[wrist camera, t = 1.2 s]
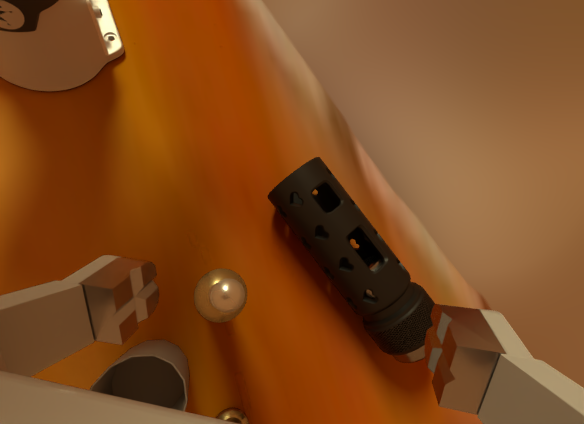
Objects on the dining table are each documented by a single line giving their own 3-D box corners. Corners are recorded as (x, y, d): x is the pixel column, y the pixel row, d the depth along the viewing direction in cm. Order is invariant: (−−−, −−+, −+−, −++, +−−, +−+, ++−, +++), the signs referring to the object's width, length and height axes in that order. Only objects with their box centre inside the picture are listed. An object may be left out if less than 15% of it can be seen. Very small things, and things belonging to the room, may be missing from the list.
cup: (202, 357, 38) (204, 377, 29) (165, 429, 35) (154, 476, 26) (139, 327, 37) (120, 339, 28) (95, 399, 34) (58, 438, 25)
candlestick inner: (192, 280, 40) (189, 268, 20) (226, 274, 42) (255, 257, 22) (196, 315, 39) (198, 338, 19) (230, 307, 41) (265, 321, 21)
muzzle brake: (304, 174, 49) (331, 145, 40) (412, 314, 49) (465, 319, 39) (258, 206, 45) (274, 183, 36) (373, 358, 45) (422, 376, 35)
